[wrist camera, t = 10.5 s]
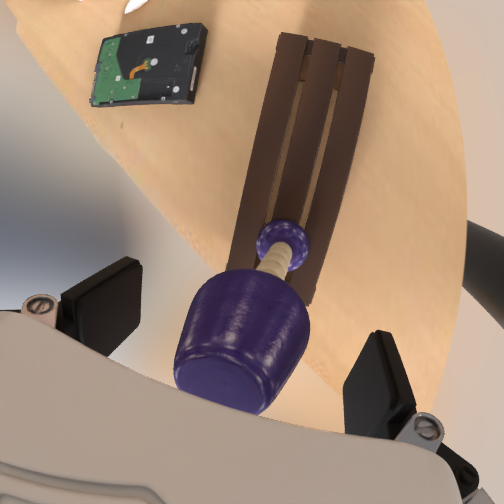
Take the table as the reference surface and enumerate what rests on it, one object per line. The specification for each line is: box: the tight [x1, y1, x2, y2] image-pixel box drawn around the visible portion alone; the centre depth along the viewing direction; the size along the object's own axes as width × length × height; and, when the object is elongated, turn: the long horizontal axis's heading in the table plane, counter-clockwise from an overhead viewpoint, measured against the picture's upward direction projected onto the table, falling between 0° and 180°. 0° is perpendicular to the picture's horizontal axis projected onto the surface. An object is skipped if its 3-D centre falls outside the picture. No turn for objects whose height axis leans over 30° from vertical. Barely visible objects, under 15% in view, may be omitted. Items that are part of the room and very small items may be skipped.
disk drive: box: [89, 23, 208, 108], centre depth 27 cm, size 10×3×15 cm
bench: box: [225, 32, 375, 307], centre depth 25 cm, size 8×22×9 cm, turn 167°
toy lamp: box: [173, 219, 310, 415], centre depth 15 cm, size 5×5×17 cm
